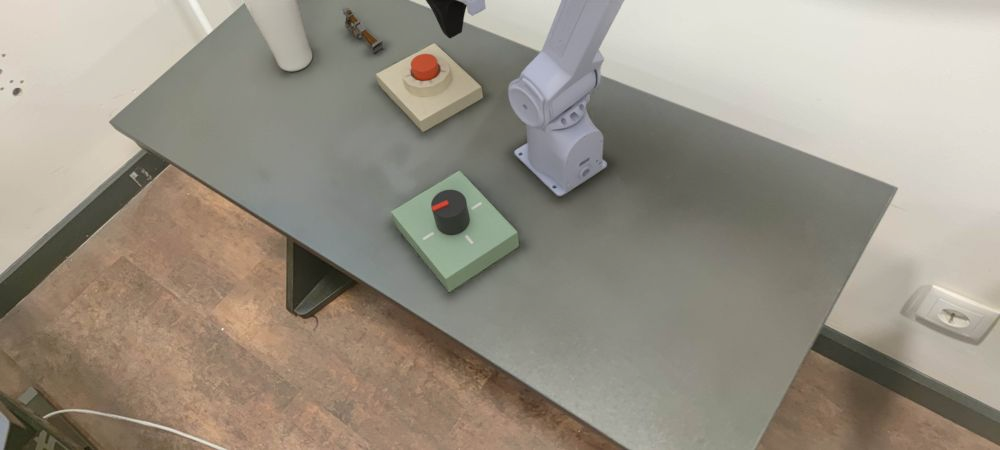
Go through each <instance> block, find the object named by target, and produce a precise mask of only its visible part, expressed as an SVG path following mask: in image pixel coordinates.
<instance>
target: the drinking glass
mask: <svg viewBox="0 0 1000 450" xmlns="http://www.w3.org/2000/svg"><path fill="white" fill-rule="evenodd" d="M243 2H244V4H245V7H246V9H247V10H248V12H249V14H250V16H251V17H252V20H253V21H254V23H255V25H256V27H257V28H258V30H259V32H260V35H262V37H263V39H264V40H265V41H264V42H265V43H266V44H267V46H268V48H269V49H270V52H271V53H272V55H273V57H274V60H275V62H276V64H277V66H278V67H279V68H280V69H281V70H283V71H286V72H298V71H301V70H303V69H305V68H306V67H308V66H309V65H310V63H312V60H313V52H312V48H311V46H310V43H309V40H308V36H307V32H306V28H305V26H304V22H303V17H302V15H301V11H300V8H299V7H300V6H299V3H298V0H243Z"/></svg>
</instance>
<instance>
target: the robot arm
mask: <svg viewBox="0 0 1000 450" xmlns="http://www.w3.org/2000/svg"><path fill="white" fill-rule="evenodd" d="M425 2H426V3H427V4H428V6H429V8H430V9H431V11H432V13H433V15H434V17H435V19H436V21H437V23H438V25H439V28H440V29H441V31H442V33H443V34H444V35H445V36H446V37H447V39H452V38H454V37H456V36H458V35H459V34H461V33H462V32H463V27H464V19H465V14H466V11H467V13H468V14H469V15H470V16H471V17H473V16H475V15H477V14H479V13H481V12H483V11H485V10H486V7H487V6H486V0H425ZM624 2H625V0H561V1H560V3H559V6H558V8H557V11H556V14H555V16H554V18H553V21H552V23H551V26H550V28H549V31H548V34H547V36H546V39H545V41H544V44H543V46H542V49H541V50H540V52H539V53H537V55H536V56H535V57H534V58H533V59H532V60H531V61H530V62H529V63H528V64H527V65H526V67H525V68H524V69H523V70H522V71H521V73H520V74H519V75H520V76H519V77H518V78H516V79H514V80H512V81H511V82H510V83H509V84H508V88H507V93H508V101H509V104H510V106H511V109H512V111H513V112H514V113H515V115H516V116H517V117H518V118H519V120H520V121H521V122H523V123H524V124H525V130H526V143H525V144H522V145H521V146H520V147H518V148H517V149H515V150H514V156H515V157H516V158H517V159H518V160H519V161H520V162H521V163H523V165H524V166H525V167H526V168H527V169H529V170H530V172H532V173H533V175H535V176H536V177H537V178H538V179H539V180H540V181H541V182H542V184H544V185H545V186H546V187H547V188H548V189H549V190H550V191H551V192H552V193H553V194H554V195H555V196H557V197H563V196H565V195H566V194H568V193H569V192H571V191H572V190H574V189H575V188H576V187H578V186H579V185H582V184H583V183H584V182H586V181H587V180H589V179H590V178H593V177H594V176H595V175H597V174H598V173H600V172H601V171H603V170H605V169H606V168H607V167H608V162H607V161H606V160H605V159H603V158H604V157H603V155H604V134H603V133H602V132H601V130H599V128H598V127H596V125H595V123H593V121H592V120H591V118H590V116H589V113H588V110H587V104H588V103H589V102H590V101H591V92H594V90H596V89H597V88H599V87H600V84H601V82H602V73H601V71H602V65H603V63H604V61H605V57H604V55H603V54H602V53H601V51H600V48H601V46H602V44H603V42H604V40H605V39H606V36H607V35H608V33H609V30H610V29H611V26H612V25H613V23H614V22H615V20H616V18H617V15H618V13H619V12H620V10H621V8H622V6H623V4H624Z"/></svg>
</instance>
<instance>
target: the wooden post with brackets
mask: <svg viewBox="0 0 1000 450" xmlns="http://www.w3.org/2000/svg"><path fill="white" fill-rule="evenodd" d="M341 10H342V12H343V13H342V14H343V15H344V16H345V20H344V27H345V28H346V30H348V29H350V30H351V35H354V36H355V39H362V38H364V39H365V40H366V42H367V43H368V44H369V46H370V49H371V53H372V54H374V53H376V52H377V51H379V50H380V49H382V48H383V40H382V39H381V38H380V39H377V38H375V36H373V35H372V34H371V33H370V32H369V31H368V30H367V27H365V26H364V24H363V22H361V21H360V20H358V18H357V17H356V16H355V14H354V12H353V11H352V10H351V9H350V7H346V6H343V7H342V9H341Z"/></svg>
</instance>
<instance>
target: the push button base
mask: <svg viewBox="0 0 1000 450" xmlns="http://www.w3.org/2000/svg"><path fill="white" fill-rule="evenodd" d="M421 54H431V55H433V56H434V57H435V58H436V59H437V63H438V68H439V73H438V75H437V76H436V77H435V78H433V79H432V80H428V81H419V80H417V79H416V78H415V77H414V76H413V73H412V68H411V61H412V60H413V58H415V57H416V56H418V55H421ZM375 76H376V77H375V78H376V80H377V83H378V86H379V87H380V88H381V90H383V91H384V92H385V93H386V94H387V96H388V97H389V98H390V99H391V100H392V101H393V102H394V103H395V104H396V105H397V107H399V108H400V110H401V111H402V112H403V113H404V114H405V115H406V116H407V117H408V118H409V119H410V120H411V121H412V122H413V123H414V124H415V126H417V128H418V129H419V130H420V131H421V132H422V133H424V132H426V131H428V130H430V129H432V128H433V127H435V126H436V125H438V124H441V123H442V122H444V121H446V120H447V119H449V118H451V117H453V116H454V115H456V114H458V113H459V112H461V111H463V110H465V109H467V108H468V107H470V106H472V105H474V104H475V103H477V102H479V101H481V100H482V99H483V98H484V95H483V88H482V85H480V84H479V83H478V82H477V81H476V80H475V79H474V78H473V77H472V76H471V75H469V73H467V72H466V71H465V70H464V69H463V68H462V67H461V66H460V65H459V64H458V63H457V62H455V61H454V59H452V58H451V57H450V56H449V55H448V54H447V53H446V52H445V51H443V50H442V49H441V48H440V47H439V45H437V44H436V43H435V42H433V43H432V44H430V45H428V46H426V47H424V48H422V49H420V50H418V51H416V52H415V53H413V54H411V55H409V56H407V57H405V58H403V59H401V60H400V61H398V62H395V63H394V64H392V65H390V66H389V67H387V68H385V69H383V70H381V71H378V72H376V74H375Z"/></svg>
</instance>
